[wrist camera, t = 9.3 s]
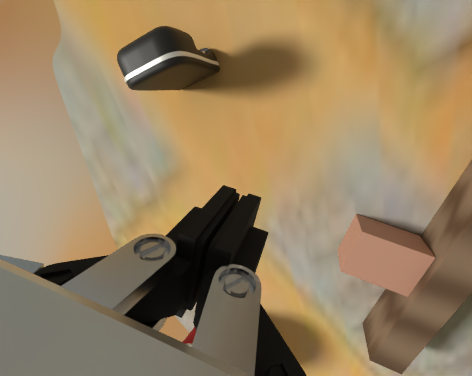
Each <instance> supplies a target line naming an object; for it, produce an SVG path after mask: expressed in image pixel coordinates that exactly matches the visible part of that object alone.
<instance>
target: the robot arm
mask: <svg viewBox="0 0 472 376" xmlns="http://www.w3.org/2000/svg"><path fill="white" fill-rule="evenodd" d="M239 195H240V194H238V193H236V189H234V188H231V187H228V186H225V185H223V186H222V187H221V188H220V189H219V191H218V192H217V193H216V194H215V195H214V196H213V197H212V198H211V199H210V200H209V201H208V202H207V204H206V205H205V206H204V207H203V208H202V209H201V208H199V207H194V208H193V209H192V210H191V211H190V212H189V213H188V214H187V215H186V216H185V217H184V218H183V219H182V220H181V221H180V222H179V223H178V224H177V225H176V226H175V227H174V228H173V229H172V230H171V231H170V232H169V233H168V234H167V235H166V236H163V235H160V234H146V235H142V236H139V237H137V238H135V239H134V240H132V241H130V242H129V243H127V244H126V245H124V246H123V247H121V248H120V249H118V250H116V251H115V252H113V253H112V254H110V255H107V256H101V257H94V258H88V259H81V260H75V261H68V262H62V263H56V264H52V265H49V266H46V267H44V264H43V263H38V262H32V261H28V260H23V259H17V258H12V257H7V256H2V255H0V376H306V374H305V372H304V370H303V369H302V367H301V366H300V364H299V363H298V361H297V360H296V358H295V356H294V355H293V353H292V352H291V350H290V349H289V347H288V346H287V344H286V343H285V341H284V339H283V338H282V336H281V335H280V333H279V332H278V330H277V329H276V327H275V325H274V324H273V322H272V321H271V319H270V318H269V316H268V315H267V313H266V312H265V310H264V308H263V307H262V305H261V304H260V299H261V282H260V280H259V278H258V276H257V275H256V274H255V272H256V269H257V266H258V263H259V260H260V257H261V254H262V251H263V248H264V245H265V242H266V239H267V236H268V232H266V231H263V230H261V229H258V228H255V227H253V225H254V222H255V218H256V215H257V211H258V208H259V205H260V201H261V197H258V196H255V195H252V194H248V195H247V196H244V195H243V196H242V197H241V199H240V200H239ZM238 200H239V201H238ZM196 302H197V304H196ZM195 304H196V309H195V317H194V322H193V323H194V326H195V328H196V334H195V337H194V340H193V343H192V346H189V345H187V344H185V343H182V342H180V341H178V340H176V339H174V338H172V337H169V336H167V335H165V334H163V333H161V332H159V330H160V329H161V328H162V327H163V325H164V323H165V322H166V318H167V317H170V316H174V315H176V316H179V317H181V318H182V316H183V315H184V313H185V311H186V310H187V309H188V310H190V311H191V310H192V309H193V307H194V306H195Z"/></svg>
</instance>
